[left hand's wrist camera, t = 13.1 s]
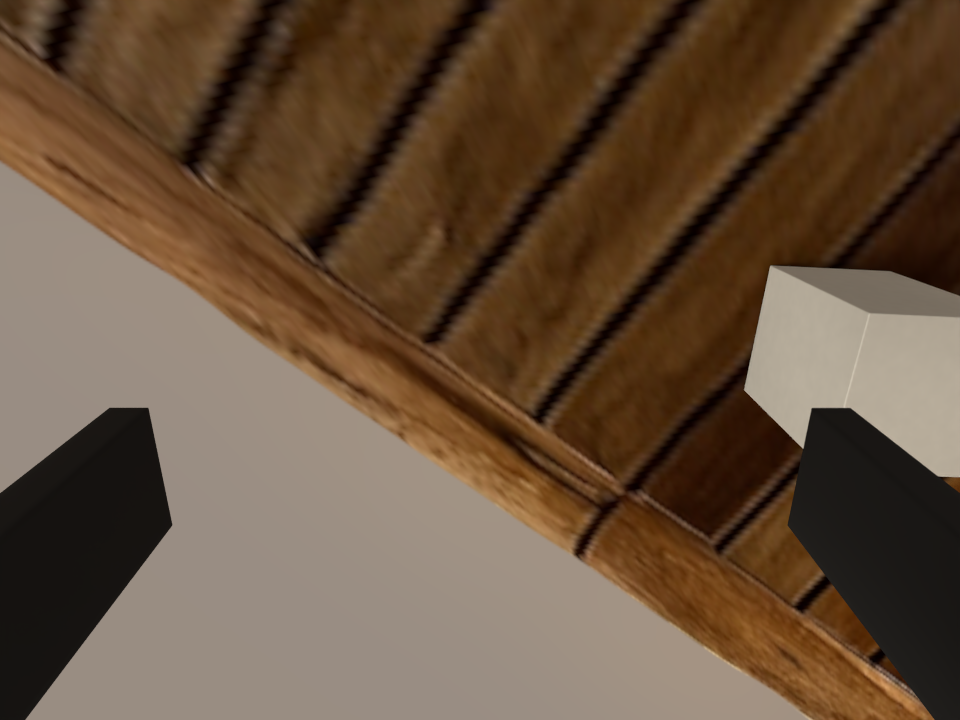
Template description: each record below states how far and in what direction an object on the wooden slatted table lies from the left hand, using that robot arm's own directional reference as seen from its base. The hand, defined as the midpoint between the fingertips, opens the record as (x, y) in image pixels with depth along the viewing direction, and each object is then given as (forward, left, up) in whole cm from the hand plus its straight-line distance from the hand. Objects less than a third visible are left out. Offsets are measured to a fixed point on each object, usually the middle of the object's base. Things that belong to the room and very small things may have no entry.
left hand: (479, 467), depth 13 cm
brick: (-7, +21, -27) cm, 34 cm away
